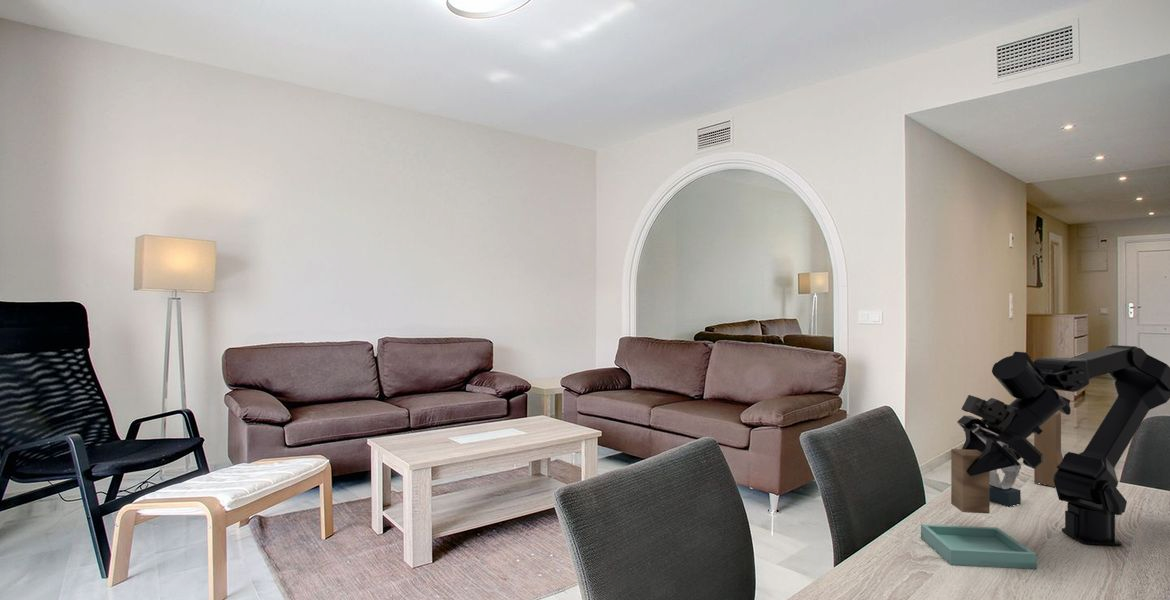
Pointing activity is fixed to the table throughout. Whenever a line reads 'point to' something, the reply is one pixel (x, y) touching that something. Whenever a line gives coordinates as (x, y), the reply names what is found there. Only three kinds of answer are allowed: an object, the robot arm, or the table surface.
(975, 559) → the tray
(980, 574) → the table surface
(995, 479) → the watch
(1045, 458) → the wooden block
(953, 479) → the tall brown wood pillar
